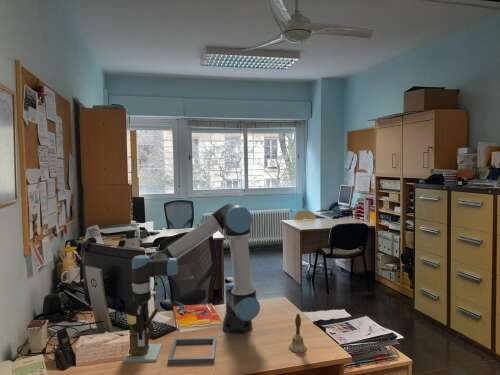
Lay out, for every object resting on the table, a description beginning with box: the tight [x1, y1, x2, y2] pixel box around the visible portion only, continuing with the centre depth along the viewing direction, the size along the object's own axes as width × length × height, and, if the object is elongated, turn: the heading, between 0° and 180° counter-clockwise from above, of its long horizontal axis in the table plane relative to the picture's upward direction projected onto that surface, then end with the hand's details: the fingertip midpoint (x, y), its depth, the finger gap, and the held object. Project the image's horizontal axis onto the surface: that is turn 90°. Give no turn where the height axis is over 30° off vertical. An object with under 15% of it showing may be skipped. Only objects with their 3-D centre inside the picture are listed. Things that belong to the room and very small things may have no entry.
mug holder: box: [167, 337, 217, 365], centre depth 174 cm, size 19×19×2 cm
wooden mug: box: [129, 308, 159, 355], centre depth 172 cm, size 9×14×18 cm, turn 102°
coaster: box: [122, 343, 163, 363], centre depth 173 cm, size 14×14×1 cm
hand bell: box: [288, 313, 307, 354], centre depth 176 cm, size 8×8×16 cm
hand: (143, 341), depth 173 cm, fingers closed on wooden mug, 7 cm apart
